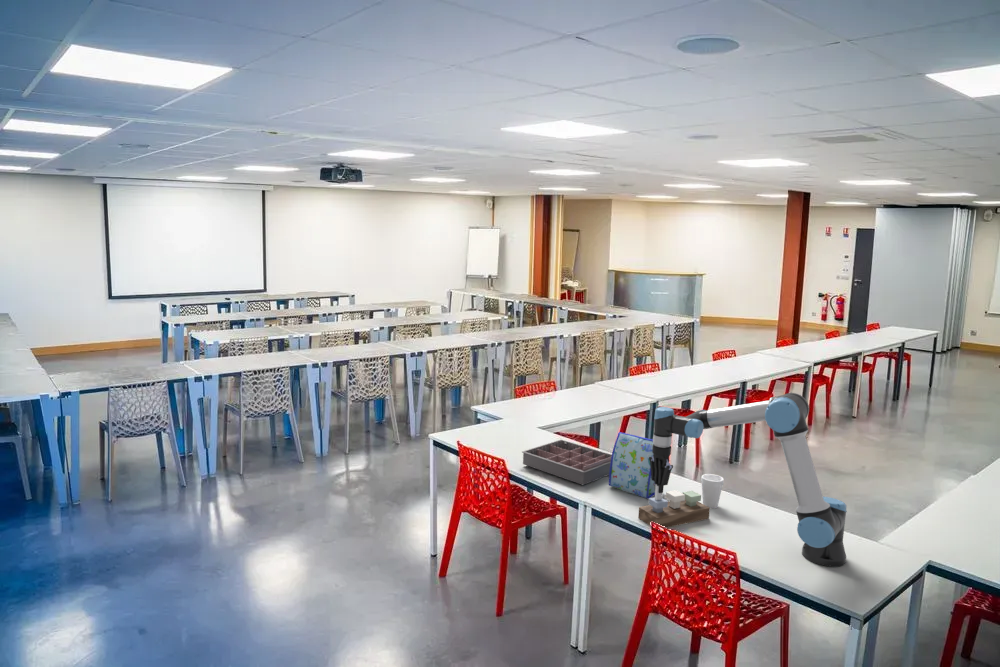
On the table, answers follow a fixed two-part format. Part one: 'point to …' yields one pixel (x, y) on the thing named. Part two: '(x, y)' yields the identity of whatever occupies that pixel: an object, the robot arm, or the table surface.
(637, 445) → the lunch bag
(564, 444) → the organizer tray
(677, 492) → the cream key
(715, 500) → the foam cup
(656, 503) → the slate key
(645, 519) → the wooden socket block
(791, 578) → the table surface
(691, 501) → the sage key
